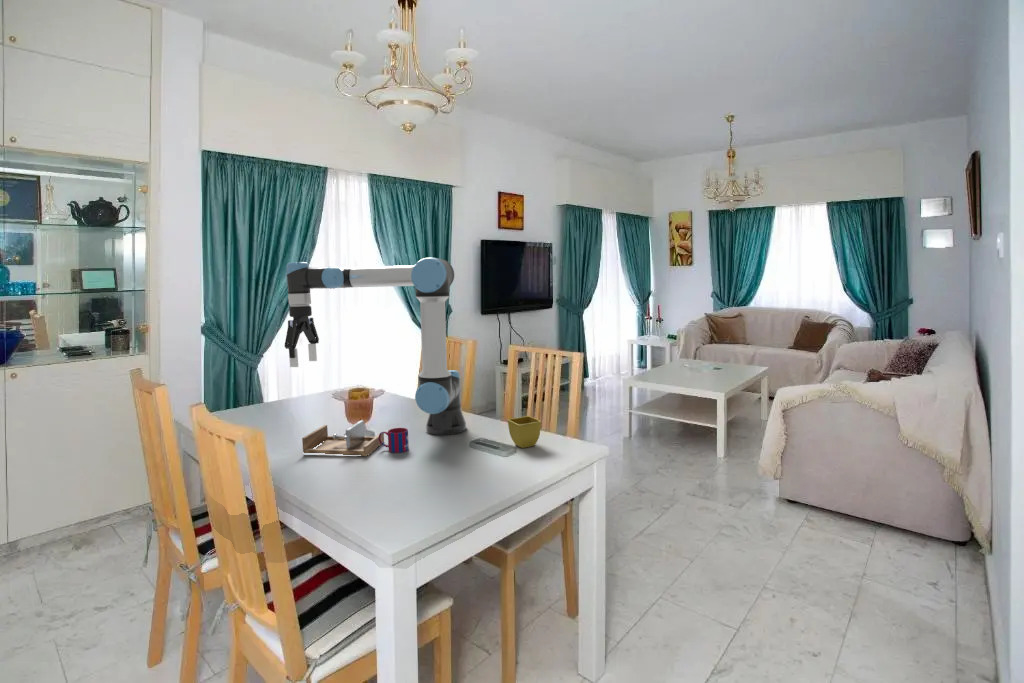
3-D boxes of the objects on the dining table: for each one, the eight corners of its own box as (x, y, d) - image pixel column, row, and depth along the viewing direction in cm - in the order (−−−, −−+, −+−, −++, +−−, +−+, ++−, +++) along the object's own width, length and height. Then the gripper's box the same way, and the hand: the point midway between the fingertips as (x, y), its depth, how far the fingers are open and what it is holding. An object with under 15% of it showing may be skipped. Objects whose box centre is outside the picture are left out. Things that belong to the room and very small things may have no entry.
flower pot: (519, 451, 180) (518, 424, 179) (507, 444, 187) (506, 419, 186) (542, 446, 184) (541, 421, 183) (529, 440, 191) (529, 415, 190)
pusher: (364, 440, 192) (363, 420, 191) (350, 451, 179) (349, 430, 179) (342, 439, 193) (341, 420, 192) (326, 450, 180) (325, 429, 180)
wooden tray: (384, 442, 193) (383, 425, 192) (366, 456, 177) (365, 439, 176) (325, 441, 195) (324, 425, 195) (303, 455, 180) (302, 438, 179)
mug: (404, 453, 180) (403, 433, 179) (376, 452, 182) (375, 432, 181) (411, 447, 186) (410, 427, 186) (384, 446, 188) (383, 427, 187)
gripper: (307, 304, 207) (311, 358, 209) (270, 307, 182) (275, 369, 185) (326, 303, 206) (329, 358, 209) (291, 307, 181) (296, 369, 184)
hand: (304, 364), depth 197 cm, fingers open, 13 cm apart
